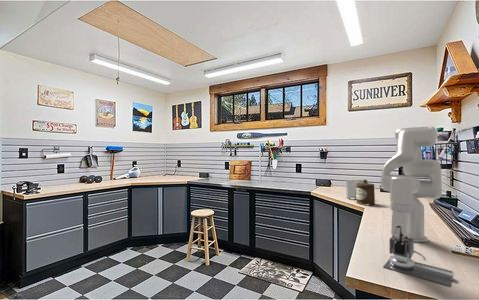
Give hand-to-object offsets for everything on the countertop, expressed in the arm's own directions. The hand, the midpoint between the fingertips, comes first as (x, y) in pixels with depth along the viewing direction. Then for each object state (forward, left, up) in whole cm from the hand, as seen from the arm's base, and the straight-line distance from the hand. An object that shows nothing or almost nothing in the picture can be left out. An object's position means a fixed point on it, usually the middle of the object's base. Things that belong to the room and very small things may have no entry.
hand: (401, 250), depth 97 cm
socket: (0, 0, -1) cm, 1 cm away
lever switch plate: (0, +5, -6) cm, 8 cm away
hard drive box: (-141, -64, -6) cm, 155 cm away
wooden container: (-122, -49, -6) cm, 132 cm away
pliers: (-20, -2, -7) cm, 21 cm away
